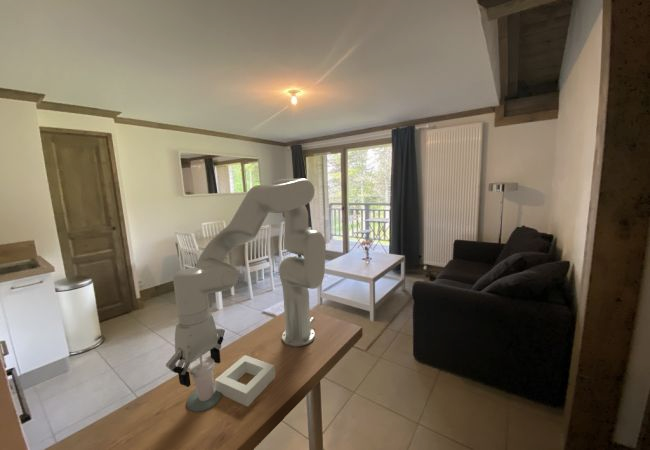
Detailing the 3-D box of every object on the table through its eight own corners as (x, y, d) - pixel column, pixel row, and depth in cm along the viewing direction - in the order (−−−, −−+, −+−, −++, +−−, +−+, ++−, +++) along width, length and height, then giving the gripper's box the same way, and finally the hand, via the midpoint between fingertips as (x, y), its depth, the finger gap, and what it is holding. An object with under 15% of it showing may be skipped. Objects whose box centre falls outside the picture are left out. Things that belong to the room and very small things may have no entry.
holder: (245, 365, 88) (244, 354, 87) (275, 377, 82) (274, 365, 81) (216, 391, 77) (214, 379, 76) (247, 406, 72) (246, 393, 71)
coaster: (207, 382, 81) (207, 380, 81) (228, 392, 77) (228, 390, 77) (179, 404, 73) (179, 402, 73) (202, 417, 69) (201, 415, 69)
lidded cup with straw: (191, 407, 71) (184, 360, 69) (195, 389, 77) (190, 345, 75) (216, 401, 73) (211, 355, 71) (219, 384, 79) (214, 341, 77)
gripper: (211, 299, 80) (217, 351, 83) (152, 328, 65) (162, 390, 68) (229, 303, 77) (235, 357, 79) (172, 335, 61) (181, 400, 64)
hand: (201, 372), depth 74 cm, fingers open, 9 cm apart
